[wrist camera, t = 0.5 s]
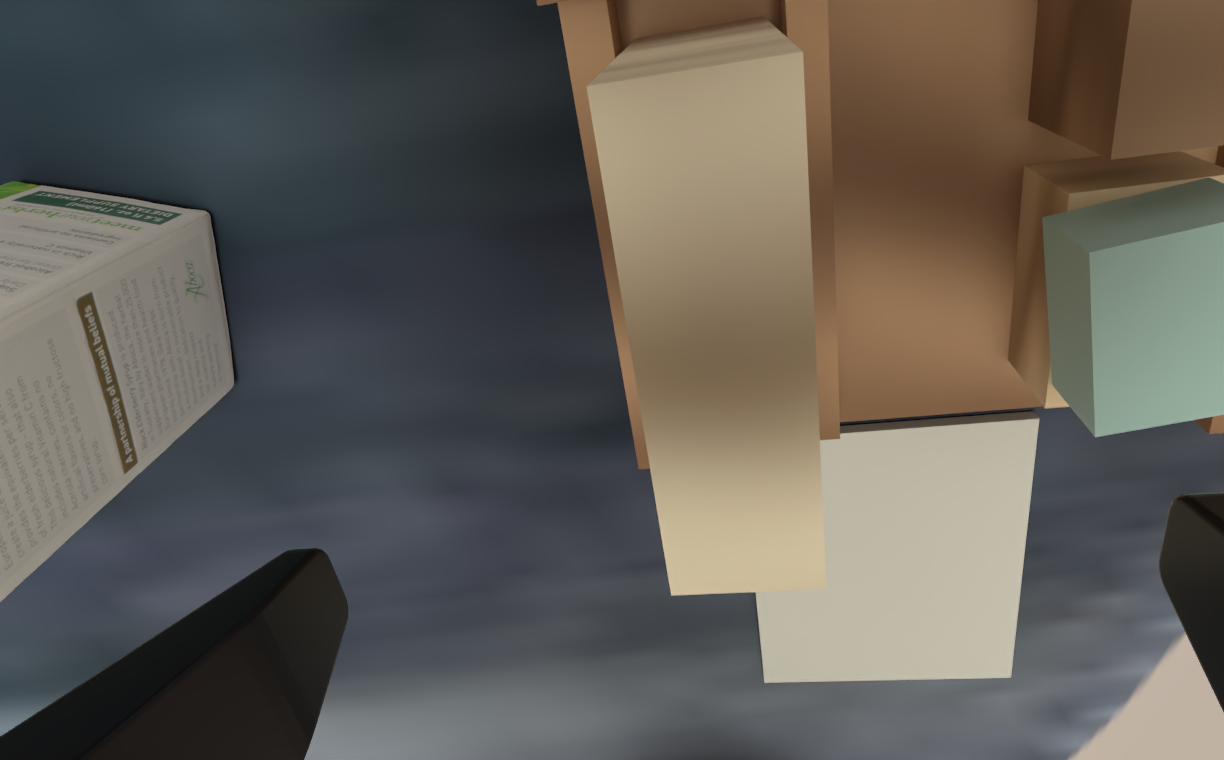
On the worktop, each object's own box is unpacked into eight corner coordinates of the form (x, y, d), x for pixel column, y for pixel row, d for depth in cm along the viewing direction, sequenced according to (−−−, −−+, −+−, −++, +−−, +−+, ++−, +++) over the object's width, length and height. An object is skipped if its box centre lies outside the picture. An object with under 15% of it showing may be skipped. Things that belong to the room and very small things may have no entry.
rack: (1199, 382, 20) (1273, 444, 17) (636, 427, 23) (626, 487, 20) (1324, -199, 14) (1461, -236, 12) (554, -50, 17) (527, -53, 14)
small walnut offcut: (1177, 99, 16) (1303, 135, 13) (1028, 120, 17) (1110, 159, 14) (1204, -59, 15) (1352, -67, 12) (1040, -31, 16) (1136, -31, 12)
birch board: (786, 379, 21) (826, 588, 14) (683, 388, 21) (671, 595, 14) (763, 16, 17) (803, 51, 10) (636, 37, 17) (586, 86, 10)
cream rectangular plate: (1006, 668, 26) (1011, 677, 25) (764, 673, 27) (764, 682, 27) (1033, 411, 21) (1039, 418, 21) (739, 433, 22) (740, 441, 22)
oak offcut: (1135, 348, 19) (1190, 397, 17) (1007, 359, 20) (1045, 408, 18) (1169, 146, 17) (1237, 173, 15) (1024, 165, 17) (1069, 193, 15)
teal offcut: (1201, 356, 17) (1266, 407, 15) (1052, 384, 17) (1095, 437, 15) (1209, 177, 15) (1283, 208, 13) (1042, 217, 16) (1089, 252, 14)
